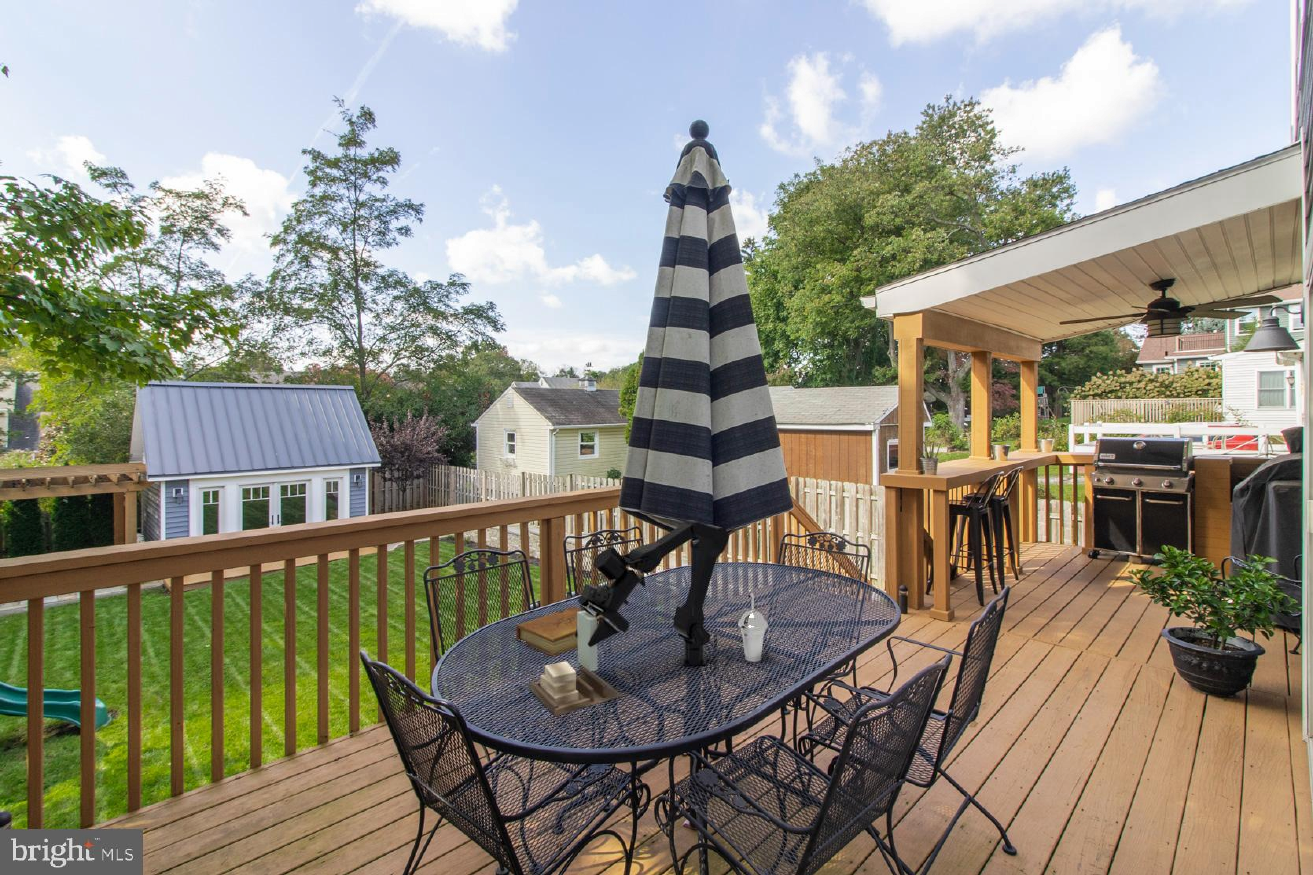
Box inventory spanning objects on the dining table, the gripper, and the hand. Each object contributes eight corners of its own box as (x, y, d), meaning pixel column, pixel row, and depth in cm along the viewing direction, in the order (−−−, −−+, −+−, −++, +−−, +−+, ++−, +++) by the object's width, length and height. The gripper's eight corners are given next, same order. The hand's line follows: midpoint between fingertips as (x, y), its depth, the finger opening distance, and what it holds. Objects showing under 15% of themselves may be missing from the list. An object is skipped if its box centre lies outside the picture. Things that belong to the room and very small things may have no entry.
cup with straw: (773, 658, 168) (773, 589, 167) (755, 667, 162) (754, 596, 161) (749, 650, 174) (749, 583, 173) (730, 659, 168) (730, 590, 167)
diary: (573, 622, 200) (573, 606, 200) (610, 636, 187) (610, 618, 187) (516, 641, 183) (515, 623, 183) (552, 658, 170) (552, 638, 170)
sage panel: (585, 660, 151) (584, 610, 151) (597, 669, 145) (596, 618, 145) (578, 661, 150) (577, 612, 150) (590, 671, 144) (589, 619, 144)
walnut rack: (593, 675, 158) (593, 661, 158) (623, 698, 144) (622, 683, 144) (529, 692, 148) (529, 678, 148) (555, 719, 134) (555, 703, 134)
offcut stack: (564, 686, 149) (563, 659, 149) (579, 701, 142) (579, 671, 141) (539, 693, 145) (539, 665, 145) (554, 708, 138) (554, 678, 138)
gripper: (583, 564, 157) (546, 613, 151) (618, 580, 141) (577, 635, 136) (609, 588, 161) (574, 636, 156) (646, 606, 146) (607, 660, 140)
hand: (582, 641), depth 147 cm, fingers closed on sage panel, 7 cm apart
